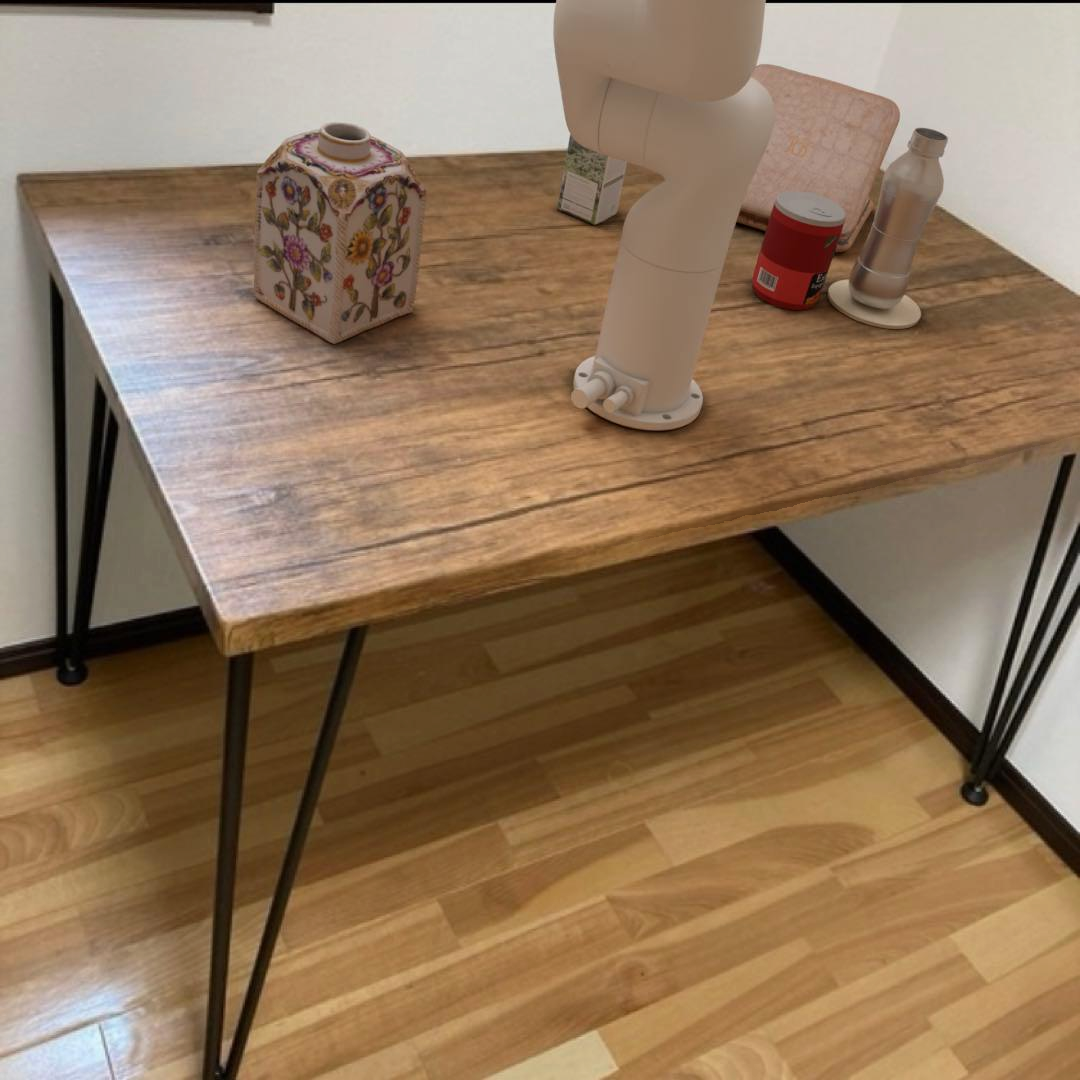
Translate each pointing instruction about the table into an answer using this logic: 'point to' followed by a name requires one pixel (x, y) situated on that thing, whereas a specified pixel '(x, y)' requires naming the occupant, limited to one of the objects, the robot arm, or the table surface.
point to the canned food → (797, 249)
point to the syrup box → (590, 184)
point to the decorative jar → (338, 231)
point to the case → (820, 146)
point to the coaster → (873, 309)
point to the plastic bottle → (899, 221)
